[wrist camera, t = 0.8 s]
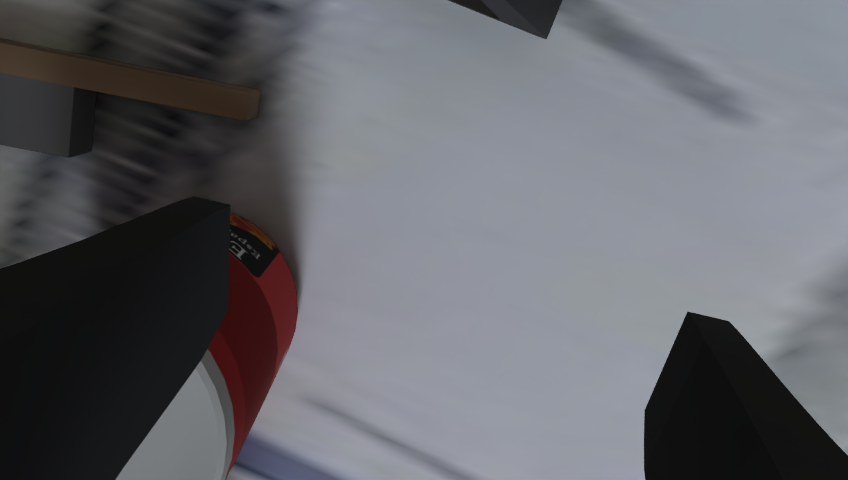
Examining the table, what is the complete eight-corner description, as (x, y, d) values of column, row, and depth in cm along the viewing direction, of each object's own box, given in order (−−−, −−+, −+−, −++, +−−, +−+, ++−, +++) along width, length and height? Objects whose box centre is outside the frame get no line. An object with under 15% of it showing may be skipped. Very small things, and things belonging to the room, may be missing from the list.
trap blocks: (65, 444, 31) (43, 467, 29) (-31, 426, 30) (-58, 449, 29) (97, 85, 27) (74, 87, 25) (-12, 64, 27) (-42, 64, 25)
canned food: (296, 199, 28) (215, 284, 17) (307, 390, 30) (239, 573, 19) (99, 201, 28) (-104, 286, 17) (121, 391, 30) (-49, 574, 19)
